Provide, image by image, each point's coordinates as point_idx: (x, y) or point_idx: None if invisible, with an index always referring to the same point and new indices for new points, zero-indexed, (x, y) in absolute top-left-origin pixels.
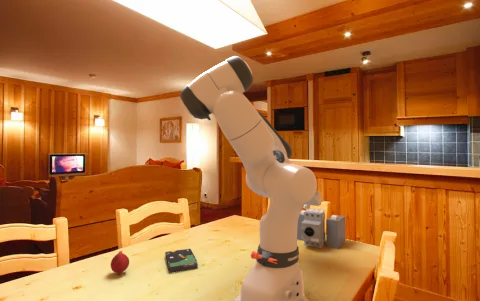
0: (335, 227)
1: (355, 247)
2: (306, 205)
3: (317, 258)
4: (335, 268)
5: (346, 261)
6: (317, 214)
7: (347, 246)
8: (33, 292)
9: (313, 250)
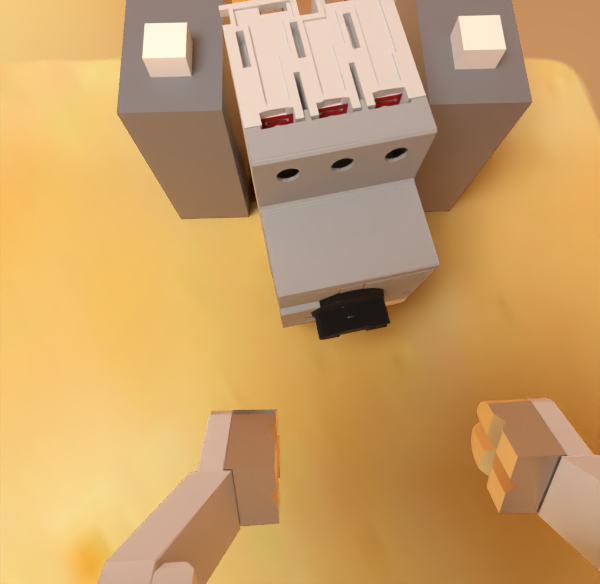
0: (486, 139)
1: None
2: (539, 495)
3: (432, 417)
4: None
5: (565, 346)
6: (396, 145)
7: None
8: None
9: None
